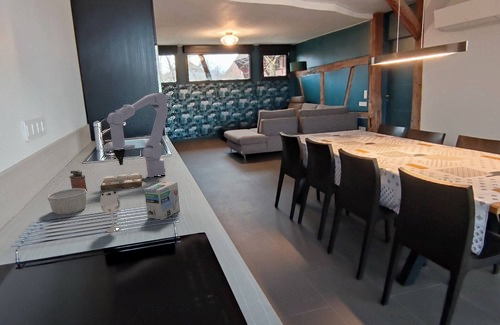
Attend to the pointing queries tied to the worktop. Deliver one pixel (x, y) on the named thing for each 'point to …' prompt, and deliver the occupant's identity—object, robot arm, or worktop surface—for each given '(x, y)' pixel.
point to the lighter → (77, 180)
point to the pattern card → (121, 182)
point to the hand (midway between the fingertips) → (121, 164)
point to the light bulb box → (162, 200)
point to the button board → (121, 184)
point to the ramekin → (68, 201)
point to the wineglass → (110, 206)
